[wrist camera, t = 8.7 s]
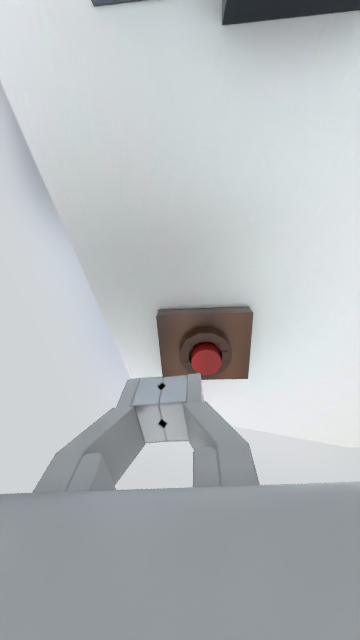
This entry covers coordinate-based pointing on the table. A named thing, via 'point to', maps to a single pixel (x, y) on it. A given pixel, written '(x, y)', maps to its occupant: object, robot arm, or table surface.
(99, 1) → the lever bracket
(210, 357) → the button
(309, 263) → the table surface
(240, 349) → the brown button base
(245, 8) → the toaster
